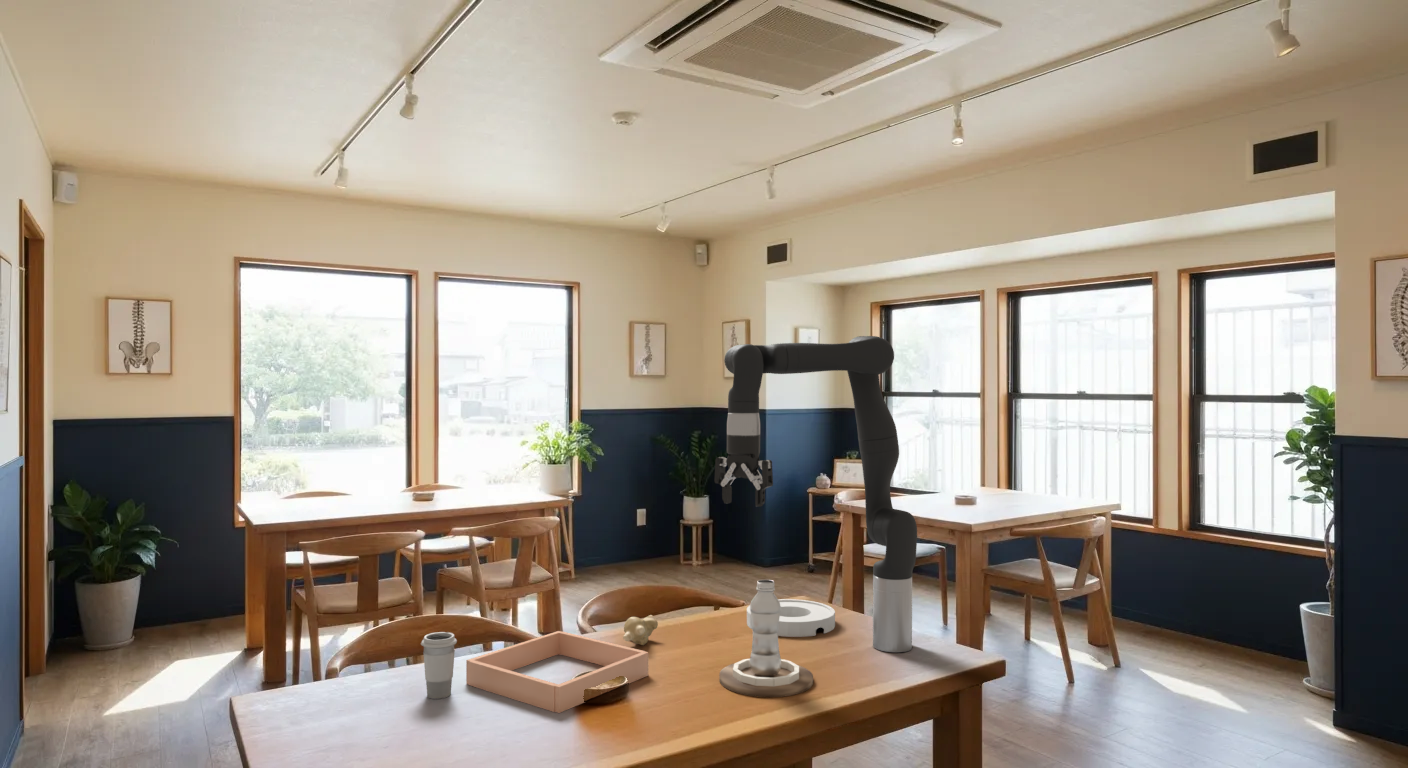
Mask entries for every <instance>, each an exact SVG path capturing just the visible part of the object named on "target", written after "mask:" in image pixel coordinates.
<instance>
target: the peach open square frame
mask: <svg viewBox="0 0 1408 768" xmlns="http://www.w3.org/2000/svg"><path fill="white" fill-rule="evenodd" d="M557 655H561V656H565V657H568V658H572V659H576V660H581V661H584V662H587V663H592V664H596V665H600V666H603V667H600V668H598V669H595V670H592V671H590V672H587V673H585V674H582V675H580V676H577V677H574V678H571V679H569V680H567V681H564V682H561V683H559V684H558V683H555V682H551V681H548V680H545V679H544V680H543V679H540V678H538V677H534V676H531V675H526V674H524V673H519V672H517V671H514V670H518V669H520V668H523V667H526V666H528V665H531V664H534V663H537V662H540V661H543V660H546V659H548V658H552V657H555V656H557ZM465 666H466V667H465V668H466V671H465V672H466V679H465V681H466V683H465V684H466V685H469V686H471V687H474V688H477V689H479V690H480V689H481V690H483V691H486V692H489V693H493V694H496V695H499V696H502V697H504V698H509V699H512V700H515V701H518V702H522V703H524V704H528V705H530V706H534V707H537V708H540V709H544V710H547V711H550V712H553V713H558V714H560V713H563V712H565V711H567V710H569V709H572V708H574V707H578V706H579V705H582V704H584V703H585V702H584V699H583V698H584V697H583V696H584V690H585V689H587V688H591V687H596V686H598V685H600V684H602V683H605V682H607V681H609V680H612V679H615V678H616V677H619V676H624V677H626V678H627V680H628V683H629V684H631V683H634V682H636V681H639V680H641V679H643V678H645V677H647V676H649V652H648V651H645V650H641V649H637V648H633V647H629V646H625V645H620V644H617V643H611V642H608V641H603V640H601V639H600V640H599V639H595V638H591V637H587V636H582V635H579V634H575V633H569V632H567V631H561V630H557V631H554V632H551V633H548V634H544V635H542V636H538V637H535V638H532V639H529V640H526V641H522V642H519V643H516V644H512V645H510V646H506V647H503V648H501V649H497V650H494V651H491V652H488V653H486V654H481V655H477V656H476V657H472V658H469V659H466V665H465Z"/></svg>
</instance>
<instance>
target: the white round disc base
mask: <svg viewBox="0 0 1408 768" xmlns="http://www.w3.org/2000/svg"><path fill="white" fill-rule="evenodd" d="M777 599H778V598H777ZM778 600H779V602H780V606H781V610H780V617H779V626H778V637H791V638H793V637H794V638H803V637H813V636H816V635H817V631H818V629H819V628H820V629H821V628H822V629H823V634H827V633H830V632H831V631H833V630H834V629H835V627H836V610H835V609H834V608H833V607H831V605H828V604H825V603H822V602H817V601H814V600H807V599H806V600H805V599H795V598H792V599H791V598H781V599H780V598H779V599H778ZM746 625H747V627H748V628H749V629H751V630H752V619H751V611H750V604H749V605H748V606H747V607H746Z"/></svg>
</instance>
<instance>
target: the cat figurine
mask: <svg viewBox="0 0 1408 768" xmlns="http://www.w3.org/2000/svg"><path fill="white" fill-rule="evenodd" d="M658 624H659V623H658V620H657V619H656V618H655V616H654V615H652V614H650V615H649V614H648V616H646V617H644V618H642V619H641V618H640V617H638V616H631V617H628V618H627V619H626V621H625V623H624V626H623V632H624V635H623V636H622V639H623V640H624V641H625V642H630V641H631V642H632V643H634V644H635V645H636V644H637V645H641V646H644V645H646V644H647V643H648V640H649V637H650V636H651V635H652V633H653V632H654V630H657V628H658V626H659V625H658Z"/></svg>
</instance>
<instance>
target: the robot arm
mask: <svg viewBox="0 0 1408 768" xmlns="http://www.w3.org/2000/svg"><path fill="white" fill-rule="evenodd" d="M894 360H895V351H894V348H893V346H892V345H891V343H890V342H889V341H888V340H887V339H885V338H883V337H880V336H876V335H860V336H859V335H858V336H856V337H854V338H852V339H850V340H849V342H845V343H843V342H841V343H814V342H813V343H810V342H787V343H786V342H785V343H784V342H782V343H781V342H780V343H773V344H766V345H764V344H751V343H750V344H749V343H745V344H737V345H734V346H731V347H730V348H729V349H728V350H727V351H726V353H725V354H724V359H723V361H724V365H725V368H726V369H727V370H728V372H730V373H732V374H733V380H732V381H733V383H732V386H731V388H730V389H729V391H728V394H727V395H728V397H727V399H728V400H727V405H728V406H727V412H728V413H727V419H726V453H727V458H726V457H724V456H719V457H716V458H715V460H714V461H715V464H714V466H715V467H714V483H715V484H718V485H720V486H721V487H722V488H721V490H722V491H721V498H722V501H723V503H724V504H731V503H732V502H733V501H732V500H733V498H732V497H733V495H732V494H733V491H732V490H733V488H732V486H731V485H732V483H733V482H734V480H735V479H738V478H743V479H748V480H749V481H750V482H751V483H752V484H753V486H754V487H755V493H754V494H755V496H754V497H755V498H754V499H755V501H754V502H755V503H754V504H755V507H756V508H757V507H758V508H759V507H763V506H764V504H765V503H766V489H768V488H771V487H773V486H774V478H773V477H774V476H773V461H772V459H766V460H765V459H764V460H760V453H761V419H760V389H761V385H762V380H763V376H764V374H774V375H787V374H790V375H791V374H793V375H794V374H808V373H815V372H816V373H819V372H820V373H821V372H834V371H837V372H838V371H846V372H847V376H848V379H849V383H850V388H851V392H852V393H851V394H852V397H853V404H854V405H853V406H854V414H855V420H856V421H855V422H856V428H857V439H858V446H859V447H858V448H859V453H860V459H861V463H862V464H861V465H862V475H863V485H864V495H865V496H864V497H865V498H864V499H865V505H864V506H865V528H866V531H867V534H868V537H869V539H870V540H871V541H872V542H873V543H875V544H876V545H880V546H883V547H885V556H884V558H883V559H881V560H878V561H875V562H874V563H873V568H872V571H873V572H872V573H873V574H872V587H873V588H872V595H873V596H872V647H873V648H875V649H876V650H879V651H882V652H886V653H905V652H909V651H911V650H912V649H913V570H914V568H915V565H916V559H917V544H918V527H917V526H918V525H917V522H916V518H915V517H914V516H913V514H911V513H910V512H908V511H907V510H902V509H897V508H893V504H892V497H891V482H892V478H893V475H894V472H895V470H896V468H897V465H898V462H899V458H900V447H899V446H900V445H899V439H898V432H897V430H898V429H897V427H896V423H895V420H894V418H893V416H892V413H891V411H890V409H889V407H888V405H887V403H886V401H885V399H884V396H883V393H882V389H881V384H880V375H882V374H883V373H885V372H887V371H888V370H889V369H890V368H891V367H892V365H893V363H894ZM726 467H728V470H727V471H726ZM759 468H760V469H761V473H760V471H759Z"/></svg>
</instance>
